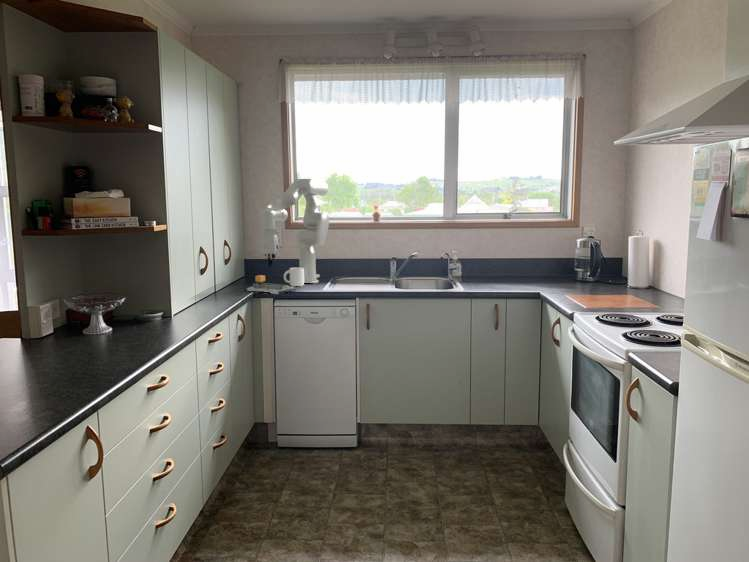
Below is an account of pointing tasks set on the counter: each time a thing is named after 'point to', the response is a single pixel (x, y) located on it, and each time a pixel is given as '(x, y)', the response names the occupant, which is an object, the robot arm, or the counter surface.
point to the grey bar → (286, 291)
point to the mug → (295, 276)
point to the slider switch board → (270, 288)
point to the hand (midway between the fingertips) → (271, 266)
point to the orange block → (260, 279)
